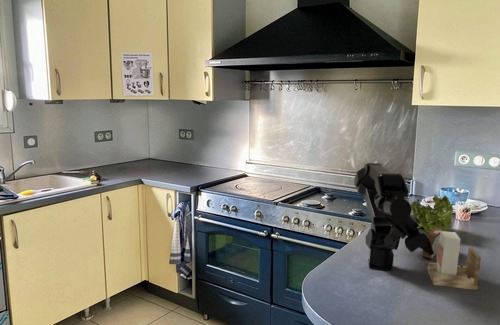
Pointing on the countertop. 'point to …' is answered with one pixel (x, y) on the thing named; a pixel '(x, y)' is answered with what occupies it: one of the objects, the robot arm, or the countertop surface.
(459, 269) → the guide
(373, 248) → the robot arm
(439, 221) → the green leafy lettuce
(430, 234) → the tin
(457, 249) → the white milk carton
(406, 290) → the countertop surface
